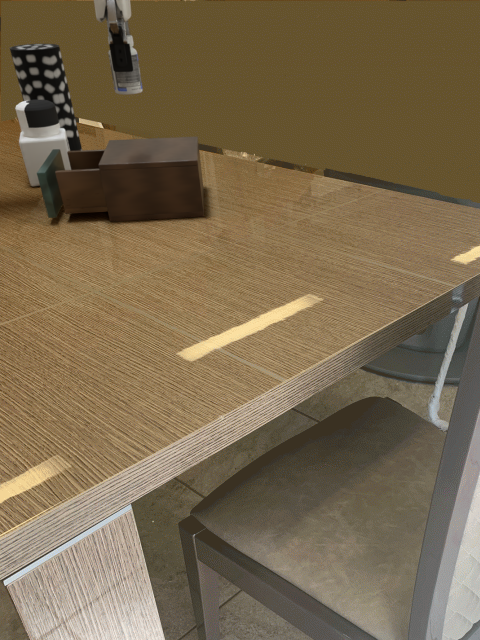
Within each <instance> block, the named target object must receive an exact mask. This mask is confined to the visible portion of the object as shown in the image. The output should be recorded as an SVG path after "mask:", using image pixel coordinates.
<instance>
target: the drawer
mask: <svg viewBox="0 0 480 640" xmlns="http://www.w3.org/2000/svg"><path fill="white" fill-rule="evenodd" d="M105 149H106V148H105ZM105 149H104V148H103V149H86V150H85V149H84V150H83V149H82V150H81V151H68V152H67V154H68V158H69V162H70V167H71V170H65V168H64V164H63V159H62V155H61V151H60V149H53V150H52V151H51V153H50V154H49V156H48V157H47V159H46V160H45V162H44V163H43V165H42V166H41V167H40V169H39V170H38V172H37V176H38V180H39V184H40V186H39V187H40V191H41V195H42V198H43V203H44V207H45V210H46V213H47V217H48V219H56V218H57V217H58V215H59V214H60V211H61V210H62V207H63V210H64V214H66V215H70V214H85V213H86V214H88V213H104V212H105V213H106V212H107V213H108V209H107V204H106V199H105V195H104V190H103V185H102V180H101V175H100V170H99V166H98V165H99V163H100V160H101V158H102V156H103V153H104V151H105Z"/></svg>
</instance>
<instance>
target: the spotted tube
mask: <svg viewBox="0 0 480 640" xmlns="http://www.w3.org/2000/svg"><path fill="white" fill-rule="evenodd" d="M9 51H10V55H11V59H12V63H13V66H14V71H15V73H16V78H17V82H18V86H19V90H20V93H21V97H22V102H23V101H28V100H48V101H50V102H53V103H54V104H55V107H56V111H57V115H58V119H59V124H60V128H64V129H65V131H66V135H67V139H68V144H69V148H70V151H81V150H83V148H82V142H81V138H80V134H79V130H78V129H79V128H78V124H77V121H76V116H75V112H74V107H73V103H72V102H73V101H72V97H71V93H70V89H69V85H68V80H67V74H66V71H65V70H66V69H65V66H64V61H63V56H62V52H61V47H60V45H59V44H57V43H28V44H18V45H14V46H11V47H9Z"/></svg>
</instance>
